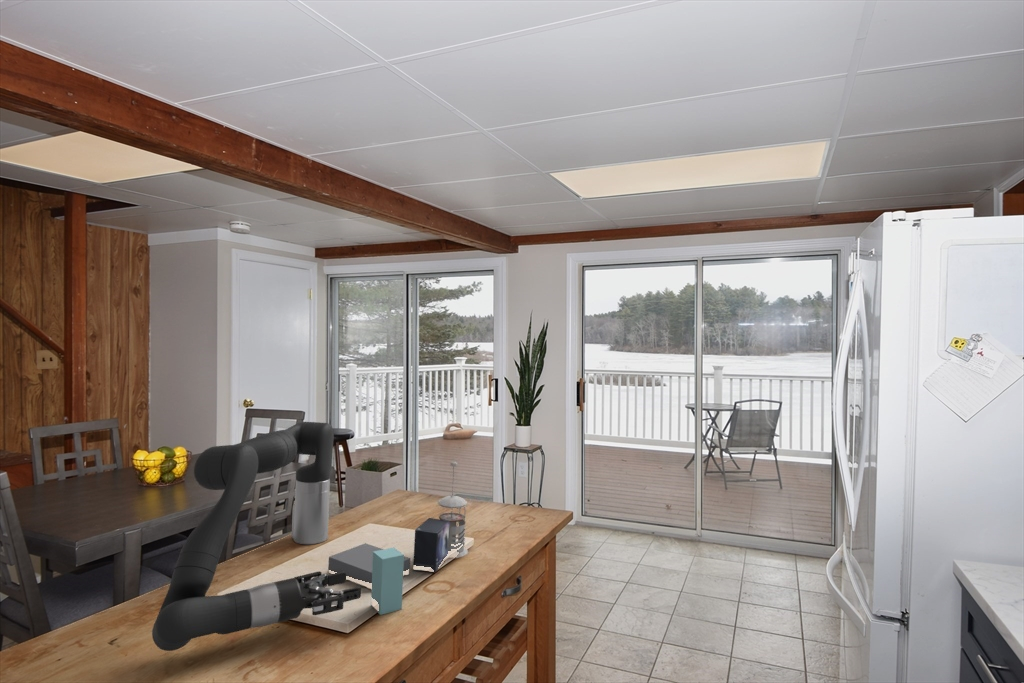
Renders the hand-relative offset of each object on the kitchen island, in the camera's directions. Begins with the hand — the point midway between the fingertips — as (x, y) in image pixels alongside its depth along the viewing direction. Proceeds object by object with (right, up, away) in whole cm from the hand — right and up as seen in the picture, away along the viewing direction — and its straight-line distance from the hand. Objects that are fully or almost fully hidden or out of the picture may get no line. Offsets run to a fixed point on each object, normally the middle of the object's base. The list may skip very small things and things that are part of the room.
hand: (352, 584), depth 125 cm
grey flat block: (-2, -6, +22) cm, 23 cm away
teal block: (+6, -7, +5) cm, 10 cm away
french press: (+17, -7, +39) cm, 44 cm away
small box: (+13, -7, +29) cm, 33 cm away
